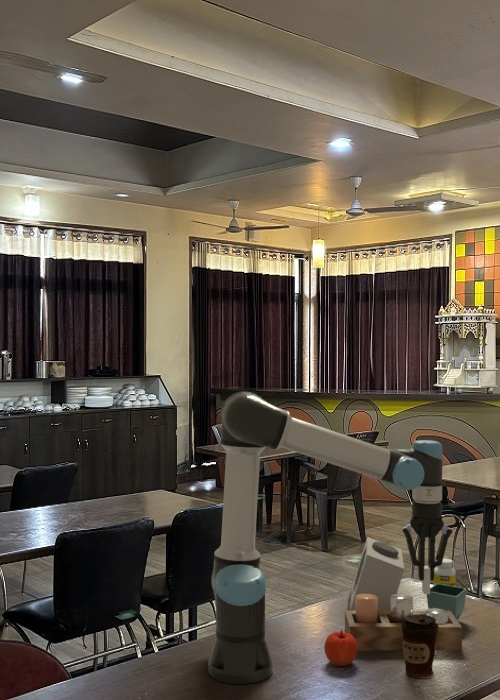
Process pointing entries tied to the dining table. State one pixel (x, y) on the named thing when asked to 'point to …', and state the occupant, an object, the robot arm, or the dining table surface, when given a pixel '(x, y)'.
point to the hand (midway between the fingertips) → (426, 592)
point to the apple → (341, 648)
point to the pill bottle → (445, 573)
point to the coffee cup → (419, 644)
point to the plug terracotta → (366, 608)
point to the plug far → (438, 615)
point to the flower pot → (447, 598)
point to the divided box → (398, 633)
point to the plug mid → (401, 607)
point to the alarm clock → (377, 574)
